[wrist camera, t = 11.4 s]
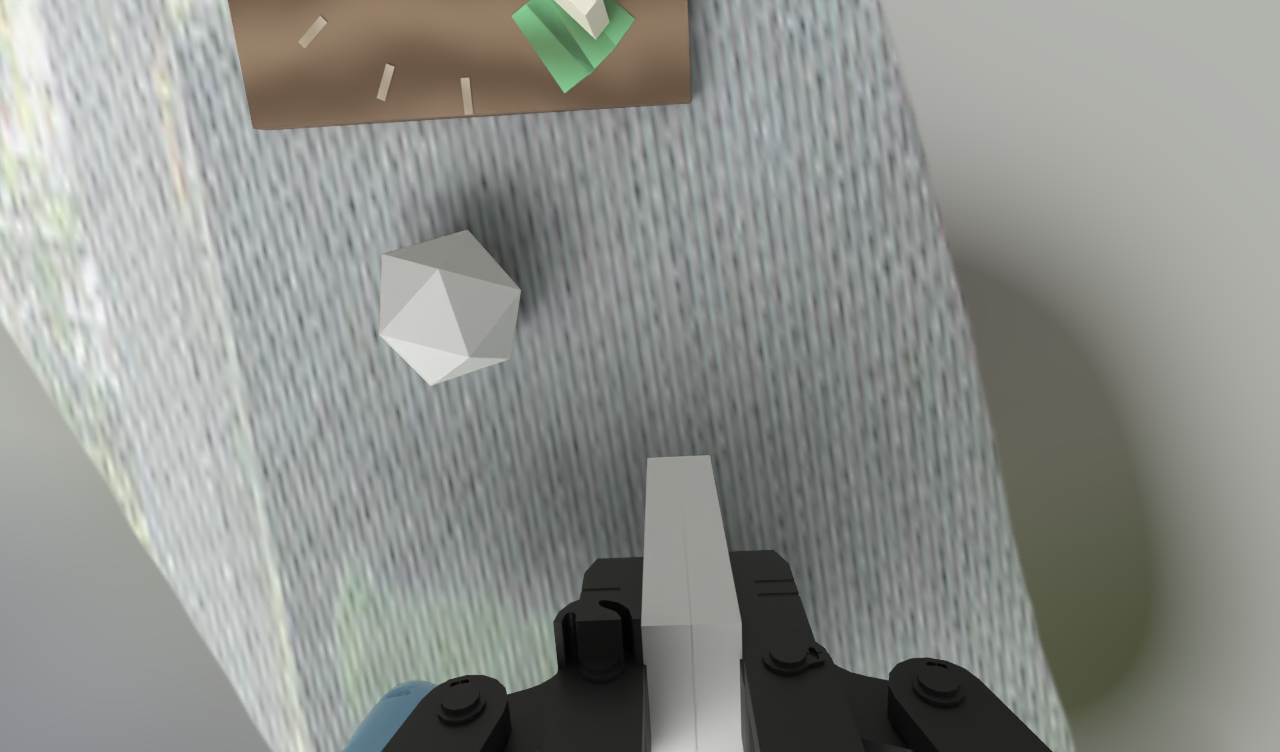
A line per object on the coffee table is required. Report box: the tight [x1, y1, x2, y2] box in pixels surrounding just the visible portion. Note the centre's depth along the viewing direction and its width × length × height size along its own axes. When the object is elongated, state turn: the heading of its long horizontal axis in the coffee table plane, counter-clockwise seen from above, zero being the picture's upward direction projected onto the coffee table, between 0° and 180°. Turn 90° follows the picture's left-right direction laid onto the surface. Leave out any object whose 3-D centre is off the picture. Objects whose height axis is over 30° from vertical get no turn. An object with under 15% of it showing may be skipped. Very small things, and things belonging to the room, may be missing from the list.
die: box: [379, 230, 521, 386], centre depth 42 cm, size 8×9×10 cm
